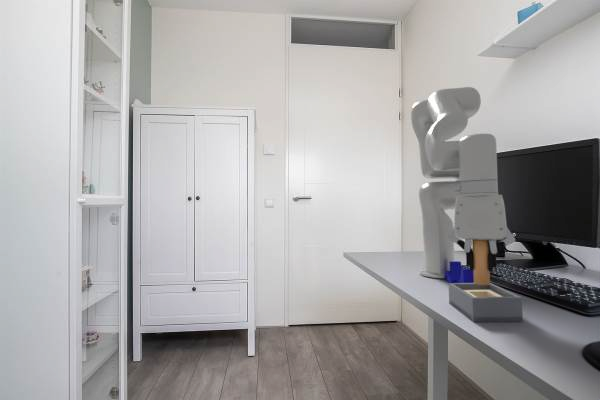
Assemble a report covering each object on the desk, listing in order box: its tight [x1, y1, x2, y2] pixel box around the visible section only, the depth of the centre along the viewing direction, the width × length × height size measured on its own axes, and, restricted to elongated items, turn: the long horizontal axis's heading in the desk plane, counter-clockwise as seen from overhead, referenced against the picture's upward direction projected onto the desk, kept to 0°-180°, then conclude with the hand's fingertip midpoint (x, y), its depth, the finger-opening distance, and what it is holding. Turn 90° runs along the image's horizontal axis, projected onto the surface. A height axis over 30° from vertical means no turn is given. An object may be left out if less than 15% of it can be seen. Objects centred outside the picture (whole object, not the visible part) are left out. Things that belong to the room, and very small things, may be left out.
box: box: [448, 282, 524, 323], centre depth 72 cm, size 12×10×5 cm
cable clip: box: [444, 260, 474, 284], centre depth 95 cm, size 12×4×6 cm, turn 172°
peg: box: [471, 239, 491, 285], centre depth 72 cm, size 3×3×10 cm
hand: (481, 269), depth 72 cm, fingers closed on peg, 3 cm apart
